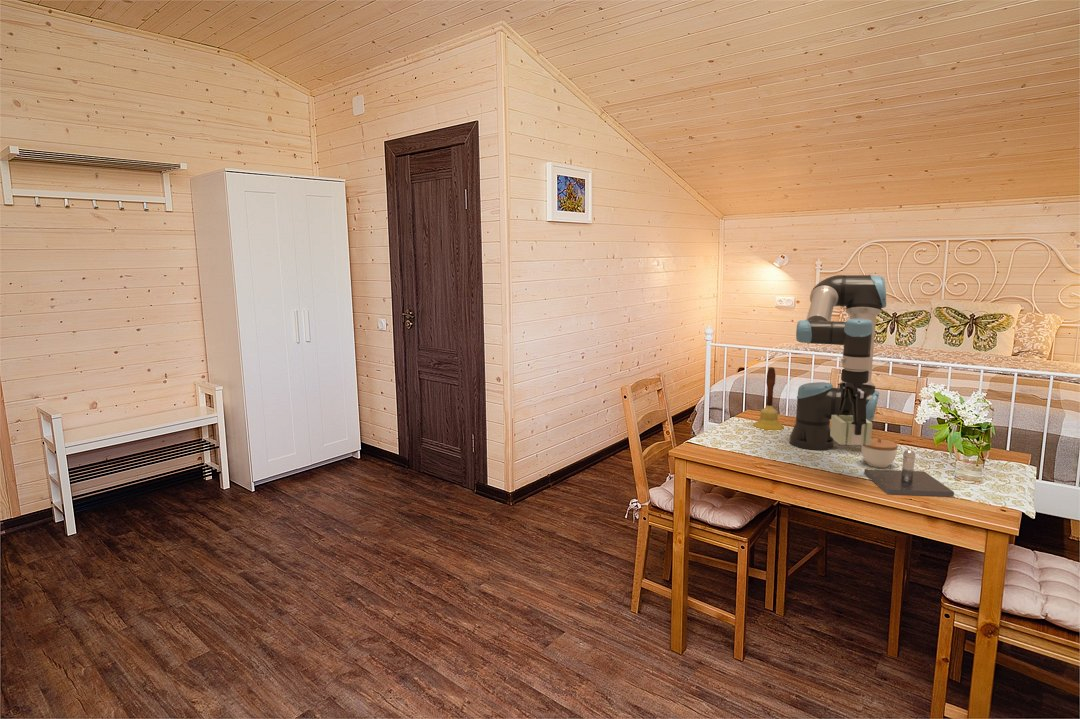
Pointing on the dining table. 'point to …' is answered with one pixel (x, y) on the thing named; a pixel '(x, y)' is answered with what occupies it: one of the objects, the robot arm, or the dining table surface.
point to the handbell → (769, 407)
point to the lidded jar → (879, 452)
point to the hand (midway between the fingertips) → (849, 439)
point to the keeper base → (908, 487)
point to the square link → (848, 430)
